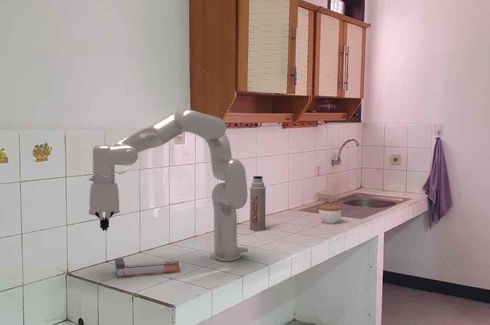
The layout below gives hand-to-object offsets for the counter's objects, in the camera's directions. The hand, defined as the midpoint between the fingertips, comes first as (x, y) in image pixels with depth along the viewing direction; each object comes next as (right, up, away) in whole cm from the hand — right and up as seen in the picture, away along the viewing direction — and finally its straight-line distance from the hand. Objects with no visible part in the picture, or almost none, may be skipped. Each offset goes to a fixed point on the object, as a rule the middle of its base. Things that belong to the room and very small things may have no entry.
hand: (104, 229), depth 181 cm
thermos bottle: (+58, -11, +80) cm, 100 cm away
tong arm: (+16, -16, +8) cm, 24 cm away
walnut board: (+14, -17, +8) cm, 24 cm away
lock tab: (+5, -13, +2) cm, 15 cm away
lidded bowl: (+98, -9, +97) cm, 139 cm away
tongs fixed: (+14, -16, +6) cm, 23 cm away
